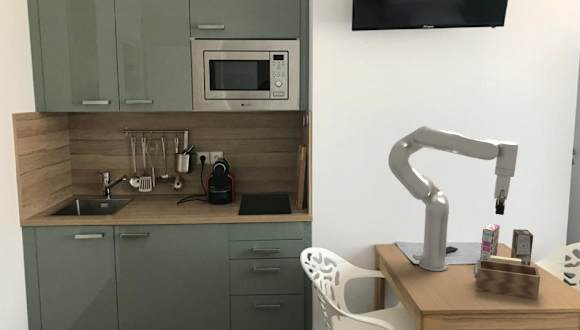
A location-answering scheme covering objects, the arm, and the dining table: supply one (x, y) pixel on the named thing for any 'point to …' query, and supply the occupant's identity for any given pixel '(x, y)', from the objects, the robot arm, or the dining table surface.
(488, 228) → the candy bar box
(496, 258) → the lid
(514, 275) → the open wooden box
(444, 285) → the dining table surface
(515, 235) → the coffee box
